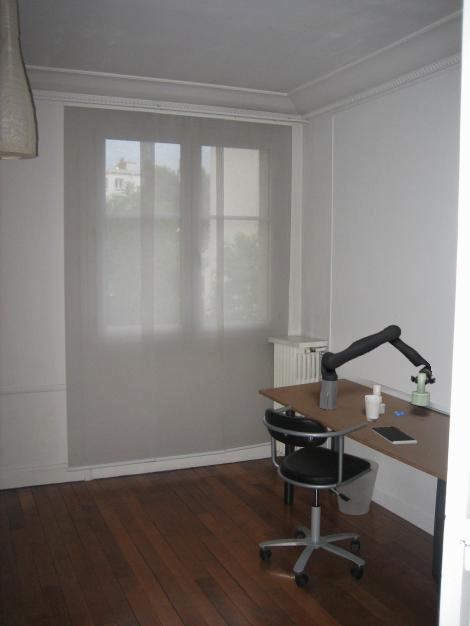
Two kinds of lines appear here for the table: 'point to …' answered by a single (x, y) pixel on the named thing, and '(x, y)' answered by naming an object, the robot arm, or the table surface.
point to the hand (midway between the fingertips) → (421, 382)
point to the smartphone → (393, 435)
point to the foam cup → (372, 406)
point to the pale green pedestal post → (420, 392)
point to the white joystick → (378, 392)
